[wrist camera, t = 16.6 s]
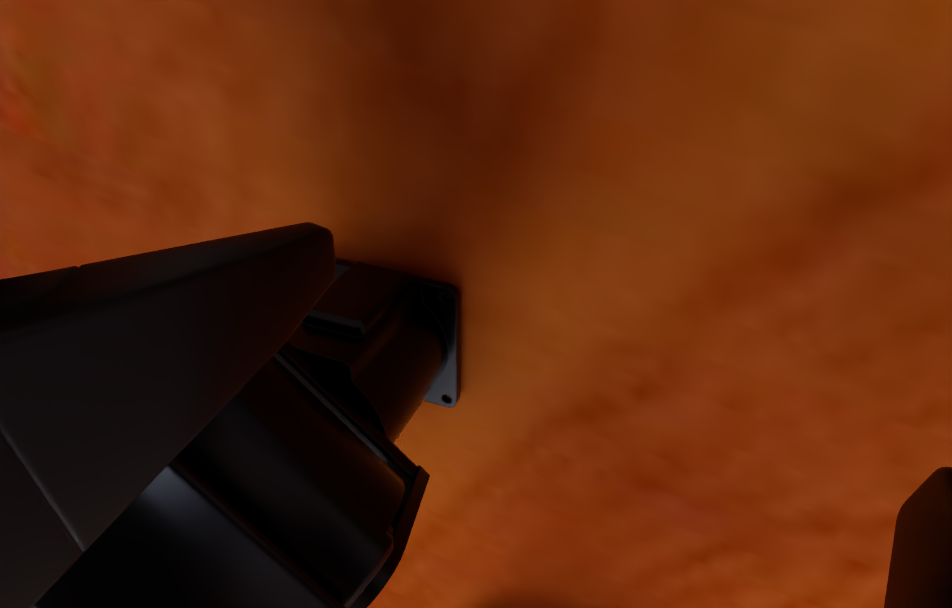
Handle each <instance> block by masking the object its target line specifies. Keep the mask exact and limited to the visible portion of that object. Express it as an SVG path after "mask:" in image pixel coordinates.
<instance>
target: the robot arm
mask: <svg viewBox="0 0 952 608" xmlns="http://www.w3.org/2000/svg"><path fill="white" fill-rule="evenodd" d="M444 293H447V294H448V295H449V296H450V297H451V299H448V298H446V297H445V295H444ZM446 395H448V396H450V398H449V397H447V396H446ZM459 397H460V293H459V291H458V289H457V288H456V287H455V286H454V285H452V284H450V283H445V282H441V281H436V280H431V279H427V278H422V277H417V276H413V275H410V274H408V273H407V272H403V271H398V270H393V269H389V268H384V267H379V266H375V265H370V264H365V263H361V262H357V263H352V262H348V261H343V260H338V259H335V251H334V240H333V235H332V233H331V231H330V230H328V229H327V228H324V227H322V226H319V225H317V224H314V223H310V222H306V223H300V224H295V225H290V226H284V227H279V228H274V229H268V230H263V231H258V232H253V233H247V234H242V235H237V236H232V237H226V238H221V239H216V240H210V241H205V242H200V243H195V244H189V245H184V246H179V247H174V248H168V249H163V250H158V251H153V252H147V253H142V254H137V255H131V256H126V257H121V258H116V259H110V260H105V261H100V262H95V263H89V264H84V265H81V266H80V267H77V266H73V267H68V268H62V269H57V270H52V271H46V272H41V273H35V274H29V275H24V276H18V277H12V278H7V279H0V608H367V607H368V606H369V605H370V604H371V603H372V601H373V600H374V599H375V598H376V597H377V595H378V594H379V593H380V591H381V590H382V589H383V588H384V586H385V585H386V583H387V582H388V580H389V579H390V577H391V576H392V574H393V573H394V571H395V569H396V567H397V565H398V564H399V562H400V560H401V557H402V555H403V553H404V550H405V547H406V544H407V541H408V539H409V536H410V533H411V530H412V527H413V524H414V521H415V518H416V515H417V512H418V509H419V506H420V503H421V500H422V497H423V494H424V491H425V488H426V486H427V483H428V480H429V477H430V475H429V474H428V473H427V472H426V471H425V470H424V469H423V468H422V467H421V466H420V465H419V466H416V465H415V464H414V463H413V462H412V461H411V460H410V459H409V458H408V457H407V456H406V455H405V454H404V453H403V452H402V451H401V450H400V449H399V448H398V447H397V446H395V445H394V444H393V443H394V442H395V440H396V439H397V437H398V436H399V435H400V433H401V432H402V430H403V429H404V427H405V426H406V424H407V423H408V422H409V420H410V419H411V417H412V416H413V414H414V413H415V411H416V410H417V409H418V407H419V406H420V404H421V403H422V401H423V400H424V401H427V402H431V403H434V404H438V405H441V406H445V407H454V406H455V405H456V403H457V402H458V400H459ZM884 608H952V468H951V467H941V468H939V469H937V470H936V471H935V472H933V473H932V474H931V475H930V477H929V478H928V479H927V480H926V481H925V482H924V483H923V484H922V485H921V486H920V487H919V488H918V489H917V490H916V491H915V492H914V493H913V494H912V495H911V496H910V497H909V498H908V499H907V500H906V501H905V503H904V504H903V505H902V507H901V509H900V511H899V513H898V516H897V520H896V526H895V533H894V540H893V548H892V555H891V562H890V569H889V576H888V583H887V590H886V597H885V604H884Z"/></svg>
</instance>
